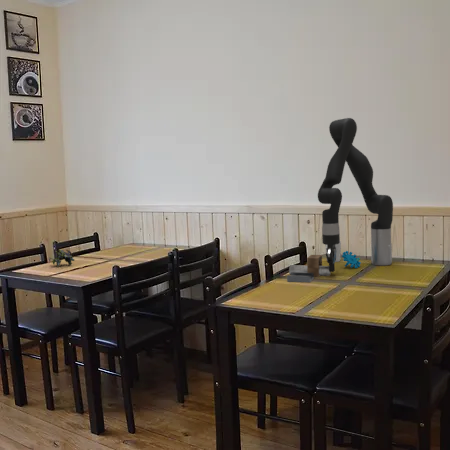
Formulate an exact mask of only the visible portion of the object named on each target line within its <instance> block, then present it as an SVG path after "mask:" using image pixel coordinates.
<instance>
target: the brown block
mask: <svg viewBox="0 0 450 450" xmlns="http://www.w3.org/2000/svg"><path fill="white" fill-rule="evenodd" d="M306 265H307V273H314V278H319V277H320V276H319V266H323V255H322V254H310V255H309V256H308V257H306Z"/></svg>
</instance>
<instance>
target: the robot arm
mask: <svg viewBox="0 0 450 450" xmlns="http://www.w3.org/2000/svg"><path fill="white" fill-rule="evenodd" d="M328 128H329V134H330V136H331V137H330V138H332V140H333V142H334V143H335V145H336V146H337V149H336V151H335V152H334V154H333V155H332V156H331V158H330V160H329V162H328V165H327V169H326V173H325V178H324V180H323V182H322V183H321V185H320V187H319V189H318V192H317V200H318V202H319V203H320V204H324V205H329V208H327V209H324V210H323V211H322V213H321V214H322V215H321V217H322V218H321V219H322V222H321V223H322V227H321V230H322V231H321V235H322V236H321V238H322V239H321V240H322V244H323V245H327V248H326V247H325V258H326V262H327V264H328V266H329V272H331V273H334V272H335V270H336V269H335V267H336V266H335V263H336V262H335V261H336V252H337V248H336V247H335V245H336V244H339V243H340V241H341V239H340V238H341V237H340V236H341V235H340V225H339V224H340V221H339V219H340V217H339V216H340V215H339V213H340V209H341V205H342V200H343V194H342V191H341V190H340V189H339V188H337V187H335V186H337V185H340V184H341V182H342V178H343V174H344V170H345V165H346V164H347V166H348V168H349V170H350V172H351V174H352V176H353V178H354V180H355V182H356V183H357V186H358V188H359V190H360V192H361V195H362V198H363V200H364V203H365V205H366V208H367V210H368V211H369V212H370V213H371V214H375V215H377V219H376V220H373V221H372V222H371V223H370V248H371V249H370V250H371V265H374V266H392V263H393V253H392V252H393V250H392V249H393V244H392V223H393V217H394V216H393V215H394V202H393V199H392V197H391V196H390V195H387V194H378V193H377V191H376V189H375V188H374V185H373V181H374V180H373V178H374V169H373V167H372V165H371V163H370V160H369V159H368V157H367V156H366V155H365V154H364V153H363V152H361V150H359V149H358V148H356V147H355V146H354V145H353V144H354V140H355V137H356V134H357V131H358V126H357V122H356V121H355V119H353V118H352V117H346V118H342V119H341V118H339V119H336V120H332V121H331V122H330V123H329V127H328ZM326 252H327V253H326Z"/></svg>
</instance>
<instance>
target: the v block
mask: <svg viewBox="0 0 450 450" xmlns="http://www.w3.org/2000/svg"><path fill="white" fill-rule="evenodd" d="M286 276H287V277H286V281H287V282H288V283H311V282H312V281H313V280H314V279H315V277H314V273H307V272H291V275H290V274H287V275H286Z"/></svg>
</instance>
